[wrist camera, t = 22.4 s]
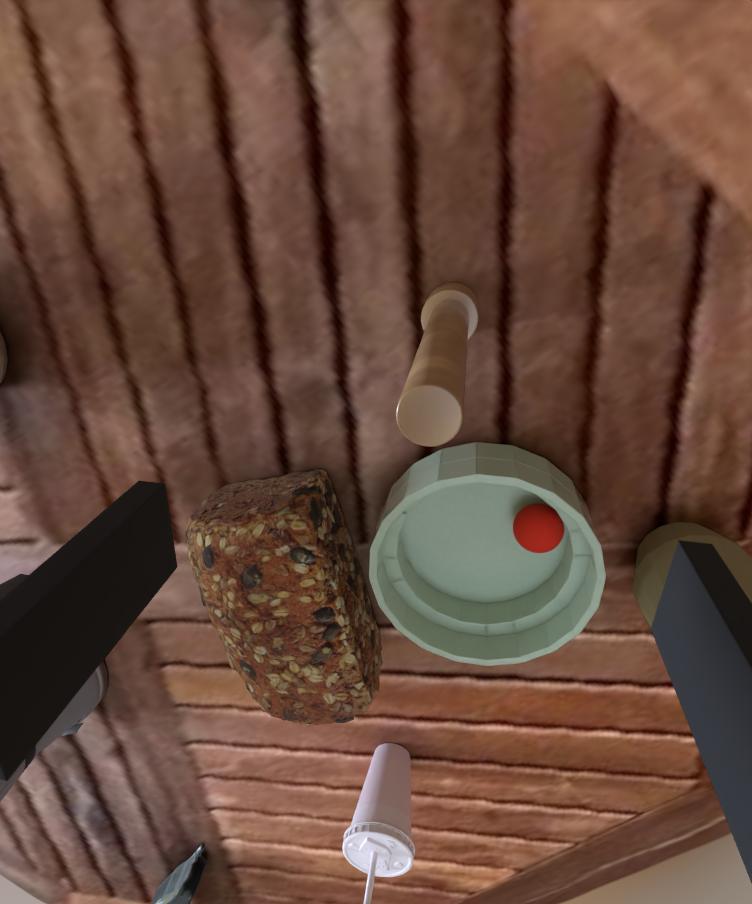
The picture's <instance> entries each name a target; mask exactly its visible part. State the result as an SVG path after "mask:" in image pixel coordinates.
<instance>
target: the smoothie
mask: <svg viewBox="0 0 752 904" xmlns="http://www.w3.org/2000/svg"><path fill="white" fill-rule="evenodd" d="M342 850H343V854H344V856H345V858H346V859H347V860H348V862H350V863H351V864H352V865H353V866H354V867H356V868H357V869H359V870H361V871H363V872H365V873H368V879H367V886H366V892H365V898H364V904H371V898H372V891H373V884H374V878H375V876H380V877H394V876H399V875H402V874H404V873H406V872H407V871H408V870H409V869H410V868H411V867H412V865H413V858H414V855H415V847H414V844H413V842H412V840H411V778H410V755H409V753H408V751H407V750H406V749H405V748H403V747H402V746H400V745H397V744H393V743H384V744H381V745H379V746H378V747H377V748H376V749H375V752H374V755H373V758H372V761H371V764H370V767H369V770H368V774H367V777H366V780H365V783H364V786H363V789H362V792H361V795H360V798H359V801H358V804H357V808H356V811H355V813H354V816H353V820H352V823H351V826H350V827H349V828H348V829H347V830H346V832H345V834H344V841H343V846H342Z"/></svg>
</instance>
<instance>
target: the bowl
mask: <svg viewBox="0 0 752 904" xmlns="http://www.w3.org/2000/svg"><path fill="white" fill-rule="evenodd" d="M535 503H540V504H545V505H548V506H550V507H552V508H553V509H555V510H556V511H557V513H558V515H559V516H560V518H561V520H562V521H563V523H564V535H563V538H562V540H561V542H560V543H559V545H558V546H557V547H556V548H554V549H553V550H551V551H549V552H546V553H533V552H530V551H528V550H526V549H524V548H523V547H522V546H521V545H520V544H519V543H518V542H517V540H516V538H515V536H514V533H513V522H514V519H515V516H516V515H517V513H518V512H519V511H520V510H521V509H522V508H524V507H525V506H527V505H530V504H535ZM369 580H370V583H371V586H372V589H373V591H374V594H375V597H376V600H377V603H378V605H379V607H380V609H381V610H382V611H383V612H384V614H385V615H386V616H387V618H388V619H389V620H390V621H391V623H392V624H393V625H394V627H395V628H396V629H397V630H398V631H399V632H400V633H402V634H403V635H405V636H406V637H407V638H409V639H410V640H411V641H413V642H414V643H416V644H417V645H418V646H420V647H421V648H422V649H425V650H427V651H430V652H432V653H435V654H437V655H440V656H442V657H445V658H447V659H450V660H452V661H457V662H464V663H470V664H477V665H484V666H493V665H504V664H516V663H523V662H526V661H529V660H532V659H535V658H537V657H540V656H543V655H546V654H549V653H552V652H553V651H555V650H557V649H558V648H560V647H561V646H563V645H564V644H565V643H567V642H568V641H570V640H571V639H572V638H574V637H575V636H577V635H578V634H579V633H580V632H581V631H582V630H583V628H584V627H585V626H586V624H587V623H588V621H589V620H590V619H591V617H592V616H593V615H594V613H595V612H596V610H597V609H598V607H599V604H600V600H601V596H602V592H603V588H604V584H605V580H606V572H605V566H604V559H603V553H602V547H601V544H600V541H599V538H598V535H597V532H596V530H595V527H594V524H593V521H592V518H591V515H590V512H589V510H588V507H587V505H586V503H585V502H584V500H583V498H582V497H581V495H580V493H579V492H578V490H577V488H576V486H575V485H574V483H573V481H571V479H570V478H569V477H567V476H566V475H565V474H564V473H562V472H561V471H560V470H559V469H558V468H556V467H555V466H554V465H553V464H552V463H550V462H549V461H548V460H547V459H545V458H543V457H540V456H538V455H535V454H533V453H530V452H528V451H525V450H523V449H520V448H518V447H515V446H512V445H502V444H491V443H481V442H477V443H476V442H475V443H469V444H464V445H459V446H454V447H449V448H444V449H441V450H439V451H437V452H435V453H433V454H431V455H429V456H427V457H425V458H424V459H422V460H420V461H418V462H416V463H414V464H413V465H412V466H411V467H410V468H409V469H408V470H407V471H406V472H405V473H404V474H403V475H402V476H401V477H400V478H399V479H398V481H397V482H396V483H395V484H394V485H393V486H392V487H391V489H390V492H389V494H388V496H387V499H386V501H385V503H384V506H383V508H382V510H381V513H380V516H379V520H378V523H377V526H376V530H375V533H374V536H373V540H372V543H371V546H370V555H369Z"/></svg>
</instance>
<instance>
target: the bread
mask: <svg viewBox="0 0 752 904" xmlns="http://www.w3.org/2000/svg"><path fill="white" fill-rule="evenodd" d="M186 537H187V545H188V556H189V560H190V561H191V564H192V569H193V575H194V579H195V580H196V581H197V582H198V583H199V588H200V593H201V598H202V602H203V605H204V606H205V607H206V608H207V611H208V614H209V616H210V618H211V621H212V625H213V626H214V627H215V628H216V630H217V631H218V633H219V637H220V638H221V640H222V641H223V643H224V646H225V651H226V653H227V654H228V661H229V664H230V666H231V667H232V668H233V669H235V670H236V671H237V672H238V673H239V675H240V676H241V677H242V678H243V680H244V681H245V683H246V686H247V689H248V690H249V691H250V692H251V694H252V696H253V699H255V700H256V702H257V703H258V704H259V706H260V708H261V709H262V710H263V711H264V712H267V713H268V714H270V715H271V716H273V717H277V718H281V719H282V720H288V721H292V722H301V723H305V724H307V725H319V724H326V723H334V722H337V723H345V722H348V721H351V720H353V719H354V717H353V716H354V715H357V714H360V713H363V712H367V710H368V707H369V706H370V705H371V703H372V700H373V698H374V697H375V695H376V694H377V692H378V690H379V675H380V673H381V669H380V666H381V664H382V662H383V661H382V657H381V650H382V647H381V638H380V632H379V628H378V626H377V625H376V622H375V618H374V615H373V612H372V609H371V606H370V601H369V596H368V593H367V590H366V585H365V583H364V581H363V576H362V572H361V567H360V566H359V565H358V559H357V556H356V552H355V549H354V546H353V543H352V540H351V537H350V533H349V530H348V528H347V527H346V526H345V523H344V516H343V514H342V512H341V509H340V506H339V503H338V502H337V500H336V495H335V493H334V490H333V488H332V485H331V481H330V479H329V478H328V475H327V472H325V471H324V470H321V469H313V470H311V471H309V472H298V471H296V472H293V473H289V474H287V475H284V476H282V477H272V478H269V479H265V480H260V479H252V480H248V481H243V482H237V483H232V484H229V485H226V486H224V487H222V488H221V489H219V490H217V491H215V492H214V493H212V494H210V496H209V497H208V498H206V499H205V500H204V502H203V503H202V504H201V506H200V507H199V508H198V509H197V510H195V511H193V514H192V516H191V517H190V518H189V520H188V523H187V530H186Z"/></svg>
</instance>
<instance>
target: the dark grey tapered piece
mask: <svg viewBox="0 0 752 904" xmlns="http://www.w3.org/2000/svg"><path fill="white" fill-rule="evenodd" d="M204 849H205V845H204V844H202V845H200V847H199V848H198V849H197V851H196V852H195V853H194V854H193V855H192V856H191V857H190V858H189V859H188V860H187V861H185V862H184V863H182V864H180V865H179V866H178V867H177V868H176V869H175V870H174V872H172V873H171V874H170V875H169V876H168V877H167V878H166V879H165V880H164V881H163V883H162V884H161V885H160V887H159V888H158V890H157V892H156V894H155V896H154V898H153V901H152V903H151V904H190V903H191V901H192V899H193V897H194V895H195V893H196V890H197V888H198V886H199V883H200V881H201V878H202V876H203V873H204V870H205V868H206V865H207V861H206V859H205V858H203V857H202V856H201V853H202V852H203V850H204Z"/></svg>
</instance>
